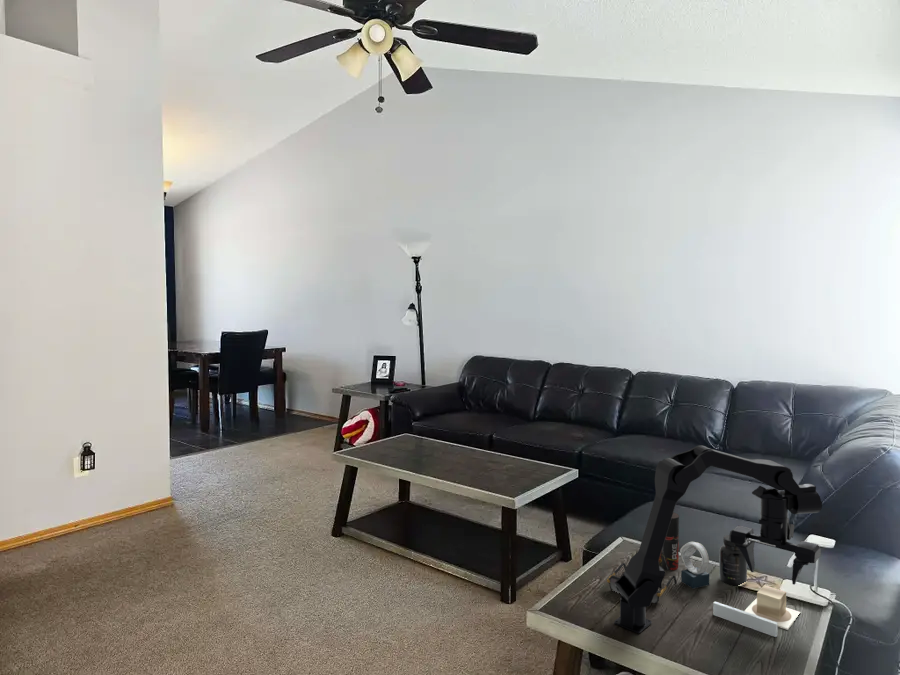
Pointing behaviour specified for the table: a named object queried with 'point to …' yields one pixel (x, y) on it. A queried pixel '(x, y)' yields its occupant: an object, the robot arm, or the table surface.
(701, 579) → the watch
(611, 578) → the sunglasses
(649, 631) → the table surface
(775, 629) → the low wall
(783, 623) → the pad
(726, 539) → the supplement bottle
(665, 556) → the deodorant
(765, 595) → the maple block
